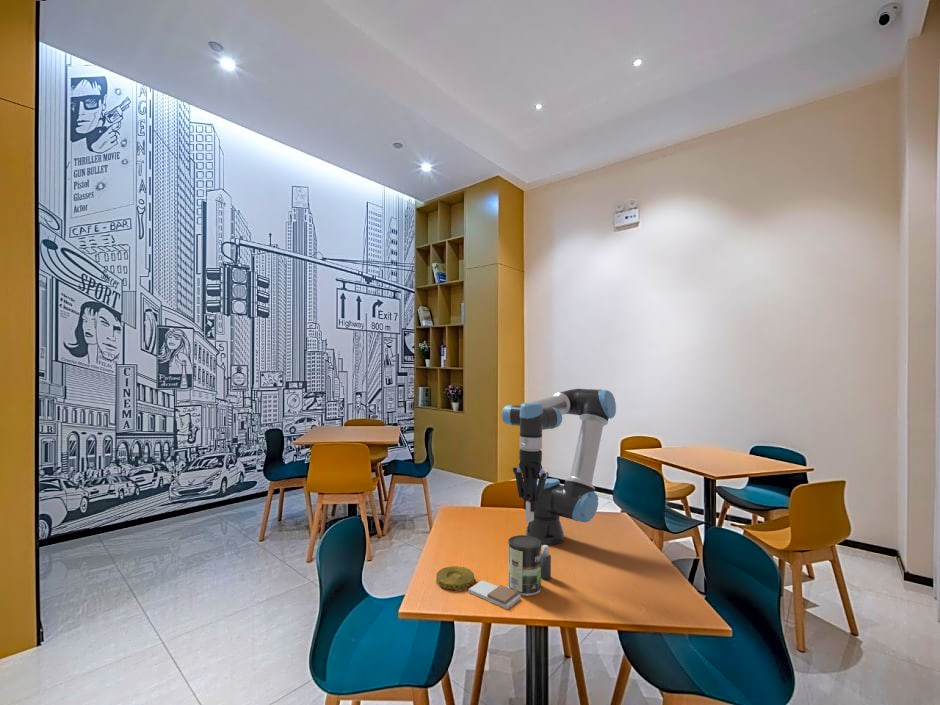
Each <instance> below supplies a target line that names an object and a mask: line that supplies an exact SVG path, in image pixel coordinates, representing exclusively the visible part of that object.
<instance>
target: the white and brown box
mask: <svg viewBox="0 0 940 705" xmlns="http://www.w3.org/2000/svg"><path fill="white" fill-rule="evenodd" d="M468 593H469V594H472V595H473V596H476V597H477V598H478V597H479V598H481V599H483V600H484V601H487V602H490V603H492V604H493V605H494V604H495V605H497V606H499V607H501V608H504V609H506V610H509V609H510V608H512V606H514V605H515V604H516V603H517V602H519V601H520V600H521V597H522V595H518V592H517V591H515V590H512V589H510V588H508V586H504V585H502V584H500V585H495V584H493V583H491V582H487V581H485V580H480V581H479V582H478V583H475V584H474V585H473V586H470V587H468Z"/></svg>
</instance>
